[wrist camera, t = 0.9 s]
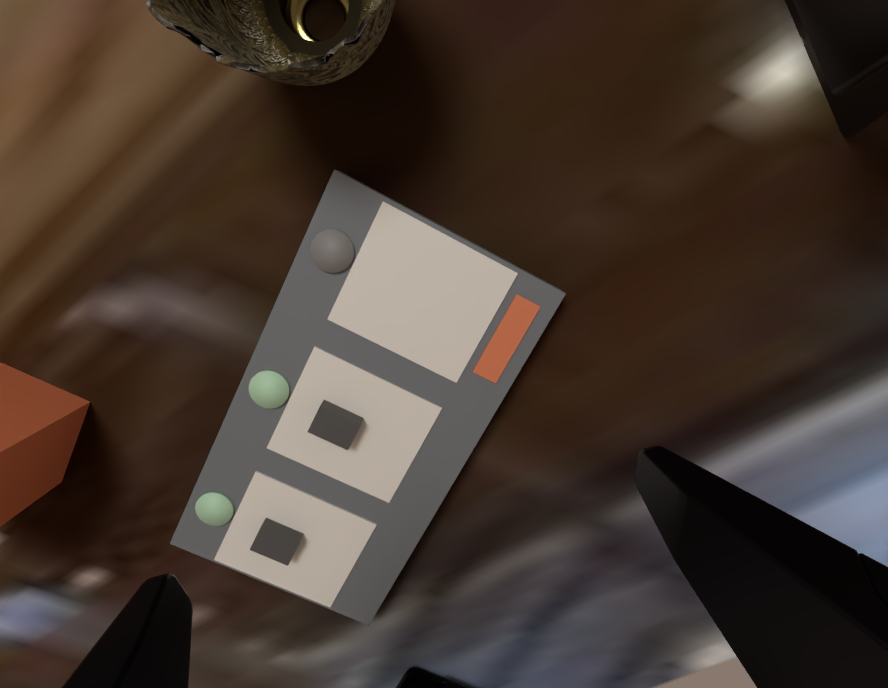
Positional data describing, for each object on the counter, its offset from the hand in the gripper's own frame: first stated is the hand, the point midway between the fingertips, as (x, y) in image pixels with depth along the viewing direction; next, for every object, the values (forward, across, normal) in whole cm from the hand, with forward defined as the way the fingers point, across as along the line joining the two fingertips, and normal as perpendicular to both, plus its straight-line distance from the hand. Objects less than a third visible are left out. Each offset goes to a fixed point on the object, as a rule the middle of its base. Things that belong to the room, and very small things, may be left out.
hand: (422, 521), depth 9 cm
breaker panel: (+14, +2, +8) cm, 16 cm away
